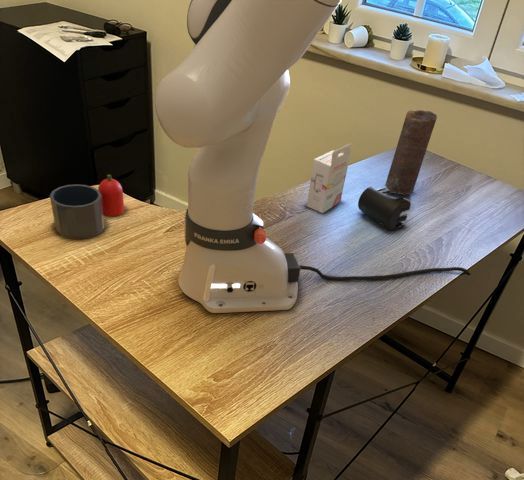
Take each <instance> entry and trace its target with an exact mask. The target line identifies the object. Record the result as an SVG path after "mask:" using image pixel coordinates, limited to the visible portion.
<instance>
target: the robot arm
mask: <svg viewBox="0 0 524 480" xmlns="http://www.w3.org/2000/svg"><path fill="white" fill-rule="evenodd" d="M342 1H343V0H191V1H190V2H189V5H188V9H187V15H186V28H187V33H188V35H189V37H190V39H191V40H192V43H194V44H193V48H192V49H191V51H190V52H189V53H188V54H187V56H186V57H185V58H184V59H183V60H182V61H181V62H180V63H179V64H178V65H177V66H176V67H175V68H174V69H173V70H172V71H170V72H169V73H168V74H167V75H165V76H164V77H163V78H162V79H161V81H159V83H158V85H157V88H156V91H155V96H154V104H155V105H154V107H155V113H156V117H157V121H158V122H159V125H160V127H161V128H162V129H161V130H163V132H164V133H165V134H166V136H167V137H168V138H169V139H170V140H171V141H172V142H173V143H175V144H176V145H178V146H180V147H183V148H186V149H196V148H197V149H198V150H197V152H196V154H195V155H194V156H193V158H192V159H191V163H190V165H189V168H188V174H187V175H188V176H187V179H188V180H187V184H188V185H187V209H186V210H185V216H184V223H183V224H184V225H183V226H184V227H183V228H184V229H183V230H184V234H183V235H184V240H185V241H184V242H185V252H184V257H183V263H182V266H181V269H180V273H179V275H178V280H177V281H178V282H177V283H178V287H179V289H180V290H181V291H182V292H183V293H184V294H185V295H186V296H187V297H188V298H190V299H191V300H193V301H196V302H198V303H199V304H201V305H202V306H203V308H204V309H205V310H206V311H207V312H209V313H211V314H224V313H246V312H247V313H248V312H268V311H270V312H271V311H287V310H291V309H292V307H293V306H294V305H296V302H297V299H298V292H299V291H298V290H299V286H298V285H299V284H298V282H299V279H300V273H301V270H304V271H311V272H315V273H316V274H317V275H318V276H319V277H320V278H321V279H325V280H328V281H338V282H341V281H344V282H345V281H374V280H378V281H379V280H389V279H397V278H402V277H408V276H414V275H419V274H420V275H421V274H427V273H439V272H454V271H455V272H456V271H457V272H462V273H464V274H465V275H467V276H471V273H470V271H469V270H468V269H466V268H465V267H460V266H452V267H433V268H432V267H431V268H424V269H417V270H411V271H405V272H400V273H394V274H393V273H392V274H383V275H370V276H369V275H367V276H366V275H360V276H359V275H358V276H357V275H356V276H355V275H354V276H353V275H352V276H351V275H350V276H331V275H326V274H324V273H323V272H322V271H321V270H320V269H318V268H316V267H314V266H308V265H301V264H299V262H298V260H297V258H296V257H295V255H294V253H293V252H284V251H283V249H282V247H280V246H279V245H278V244H276V243H275V242H273V240H271V239H269V237H267V231H266V230H265V229H264V220H262V215H261V213H260V212H258V215H256V213H254V208H255V207H254V206H255V198H256V197H255V196H256V189H257V181H258V176H259V171H260V168H261V164H262V161H263V157H264V155H265V151H266V148H267V146H268V143H269V139H270V137H271V133H272V131H273V127H274V124H275V121H276V119H277V116H278V115H279V112H280V111H281V109H282V107H283V106H284V104H285V102H286V101H287V98H288V97H289V93H290V87H291V78H290V73H289V70H290V69H291V67H293V66H294V65H295V64H296V63H298V61H300V59H301V58H303V56H304V55H305V53H306V52H307V51H308V49H309V48H310V46H311V45H312V44H313V42H314V41H315V40H316V38H317V36H318V35H319V34H320V32H321V31H322V29H324V27H325V25H326V23H327V22H328V21H329V20H330V18H331V17H332V16H333V15H334V13H335V11H336V10H337V9H338V7H339V5H340V4H341V3H342Z"/></svg>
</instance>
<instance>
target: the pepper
mask: <svg viewBox="0 0 524 480" xmlns="http://www.w3.org/2000/svg"><path fill="white" fill-rule="evenodd" d="M97 190H99V191H100V193H101V195H102V205H103V214H104V216H108V217H117V216H120V215H122V214H124V212H125V203H124V191H123V185H122V184H121V183H120V182H119V181H118V180H116V179H114V178H112V174H107V175H106V178H104V179H102V180H101V182H100V183H99V185H98V189H97Z"/></svg>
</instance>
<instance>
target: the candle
mask: <svg viewBox="0 0 524 480" xmlns="http://www.w3.org/2000/svg"><path fill="white" fill-rule="evenodd" d="M437 119H438V116H437V114H436V113H434V112H433V111H431V110H421V109H418V110H412V109H411V110H408V111H407V112H406V114H405V118H404V120H403V124H402V127H401V131H400V134H399V137H398V141H397V144H396V148H395V151H394V155H393V158H392V161H391V164H390V168H389V170H388V174H387V177H386V181H385V186H384V187H385V188H387V189H388V190H390V191H392V194H399V195H404V196H405V195H409V194H412V193H413V192H414V190H415V187H416V184H417V181H418V177H419V174H420V171H421V168H422V165H423V161H424V159H425V155H426V153H427V149H428V146H429V143H430V140H431V137H432V134H433V131H434V128H435V125H436V123H437Z"/></svg>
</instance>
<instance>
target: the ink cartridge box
mask: <svg viewBox="0 0 524 480" xmlns="http://www.w3.org/2000/svg"><path fill="white" fill-rule="evenodd" d="M351 149H352V143H348V144H345V145H343V146H342V147H340V148H338V149H336V150H334V149H332V150H330V151H328V152H326V153H324V154H322V155H320V156H318V157H316V158H313V164H312V169H311V175H310V181H309V188H308V194H307V200H306V201H307V202H306V207H307V208H309V209H312V210H314V211H316V212H318V213H321V214H324V213H326V212H327V211H329V210H330V209H332V208H334V206H336V205H338V204H339V203H341V200H342V196H343V191H344V186H345V182H346V177H347V173H348V167H349V163H350V159H351Z"/></svg>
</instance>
